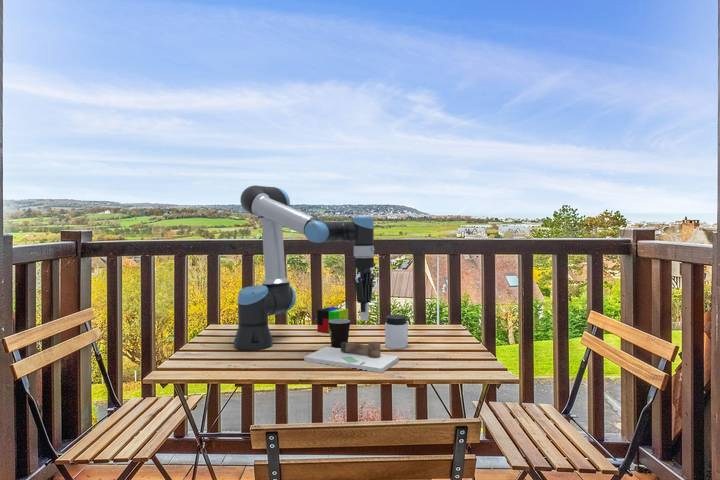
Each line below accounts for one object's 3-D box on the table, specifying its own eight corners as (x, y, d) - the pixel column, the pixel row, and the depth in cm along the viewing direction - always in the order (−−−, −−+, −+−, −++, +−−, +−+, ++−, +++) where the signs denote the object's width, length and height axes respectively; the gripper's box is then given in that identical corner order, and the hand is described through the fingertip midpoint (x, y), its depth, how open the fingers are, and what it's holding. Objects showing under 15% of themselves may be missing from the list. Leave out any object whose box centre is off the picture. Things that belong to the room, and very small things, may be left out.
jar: (406, 343, 184) (406, 314, 184) (408, 349, 176) (408, 318, 176) (384, 343, 184) (384, 314, 184) (385, 349, 176) (385, 318, 176)
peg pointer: (339, 352, 165) (339, 340, 165) (345, 349, 169) (345, 337, 169) (377, 357, 158) (377, 345, 158) (382, 354, 162) (382, 342, 162)
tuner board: (304, 361, 161) (304, 356, 161) (326, 350, 174) (326, 346, 174) (381, 373, 148) (381, 368, 148) (398, 360, 161) (398, 356, 161)
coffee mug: (347, 349, 176) (347, 324, 176) (326, 348, 178) (326, 323, 177) (353, 342, 187) (353, 318, 187) (333, 341, 189) (333, 317, 189)
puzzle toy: (331, 327, 214) (331, 306, 214) (348, 330, 208) (348, 309, 208) (317, 331, 206) (317, 309, 206) (334, 334, 200) (334, 312, 200)
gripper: (365, 258, 161) (366, 324, 162) (380, 256, 173) (380, 317, 174) (346, 258, 165) (347, 322, 165) (362, 255, 176) (363, 316, 177)
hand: (364, 320), depth 169 cm, fingers closed
